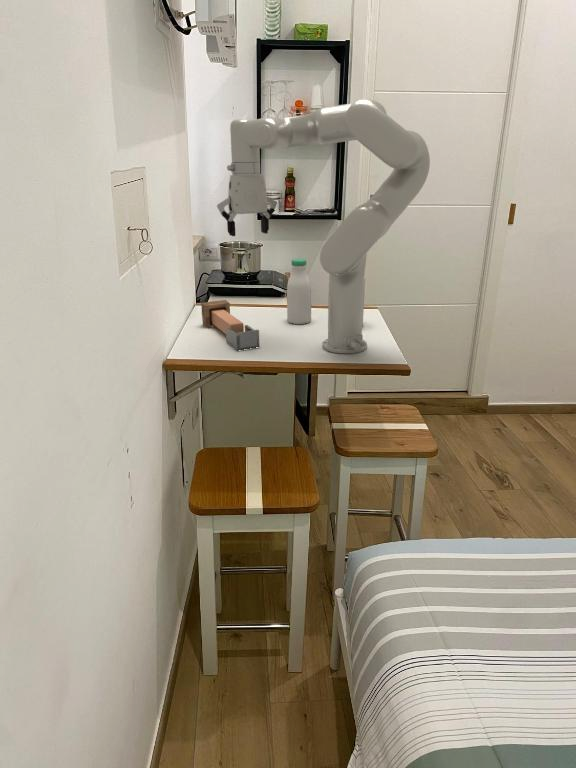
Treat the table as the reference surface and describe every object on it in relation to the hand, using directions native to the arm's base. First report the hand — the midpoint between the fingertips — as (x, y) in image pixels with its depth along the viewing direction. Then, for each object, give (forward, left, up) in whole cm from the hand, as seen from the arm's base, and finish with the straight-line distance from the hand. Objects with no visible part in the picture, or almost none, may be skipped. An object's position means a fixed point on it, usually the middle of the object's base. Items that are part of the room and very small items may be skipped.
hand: (248, 234), depth 170 cm
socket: (+18, +5, -30) cm, 36 cm away
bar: (+9, +5, -29) cm, 31 cm away
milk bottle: (+9, -20, -31) cm, 38 cm away
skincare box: (-2, -32, -31) cm, 44 cm away
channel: (-5, +5, -30) cm, 31 cm away
